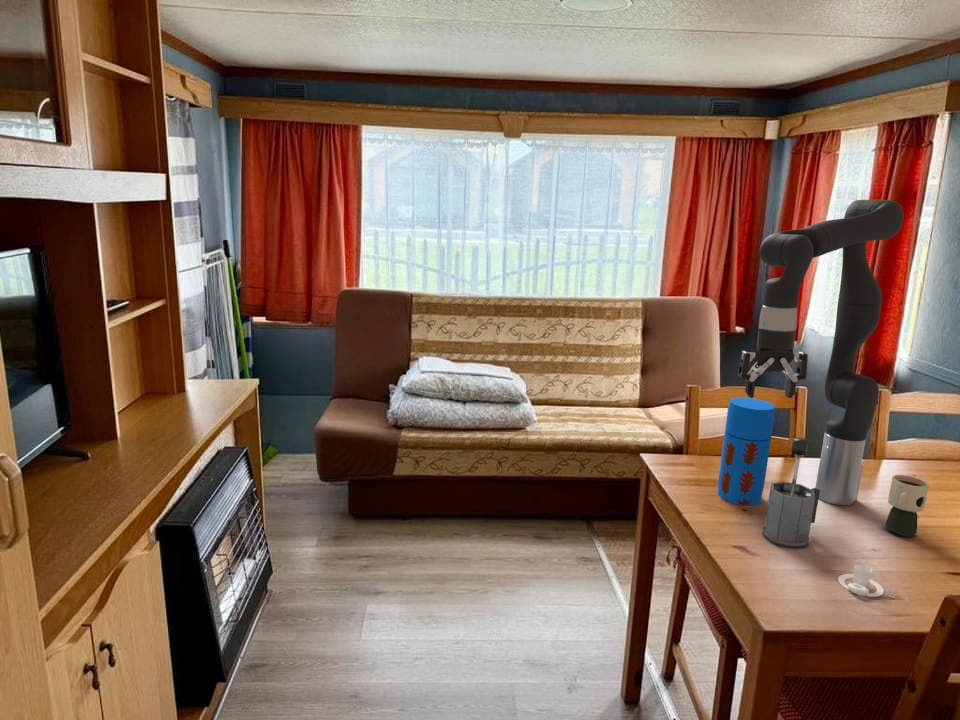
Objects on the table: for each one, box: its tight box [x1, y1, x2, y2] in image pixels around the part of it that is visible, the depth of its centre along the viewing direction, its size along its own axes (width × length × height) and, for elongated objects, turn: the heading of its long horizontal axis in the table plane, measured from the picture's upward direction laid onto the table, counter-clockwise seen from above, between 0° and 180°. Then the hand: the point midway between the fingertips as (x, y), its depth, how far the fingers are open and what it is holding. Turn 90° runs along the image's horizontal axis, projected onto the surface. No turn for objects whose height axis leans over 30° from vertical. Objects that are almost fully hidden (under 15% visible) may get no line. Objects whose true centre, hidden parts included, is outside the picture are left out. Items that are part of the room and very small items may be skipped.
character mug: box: [884, 474, 930, 538], centre depth 152 cm, size 11×7×13 cm, turn 136°
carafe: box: [761, 481, 820, 550], centre depth 148 cm, size 12×10×12 cm
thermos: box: [717, 397, 776, 507], centre depth 167 cm, size 11×11×25 cm
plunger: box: [780, 437, 809, 498], centre depth 145 cm, size 7×7×14 cm
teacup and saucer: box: [837, 563, 885, 598], centre depth 130 cm, size 9×8×4 cm
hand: (769, 397), depth 149 cm, fingers open, 8 cm apart
